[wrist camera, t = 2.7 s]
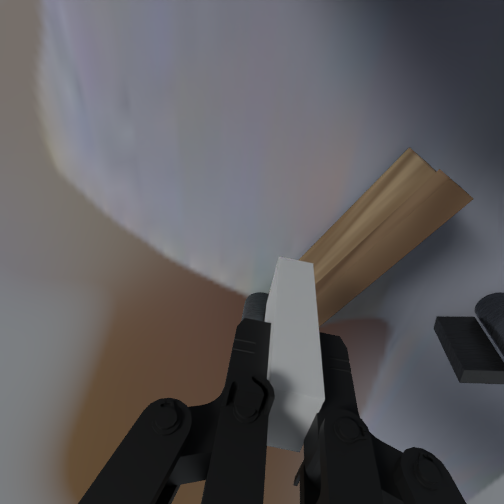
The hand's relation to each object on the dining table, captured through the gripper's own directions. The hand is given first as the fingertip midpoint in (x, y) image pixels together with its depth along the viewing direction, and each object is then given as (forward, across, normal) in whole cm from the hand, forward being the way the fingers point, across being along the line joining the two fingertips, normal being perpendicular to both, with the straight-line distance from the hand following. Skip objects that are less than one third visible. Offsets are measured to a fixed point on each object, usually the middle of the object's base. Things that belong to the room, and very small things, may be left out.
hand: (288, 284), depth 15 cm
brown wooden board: (+13, +4, -3) cm, 14 cm away
